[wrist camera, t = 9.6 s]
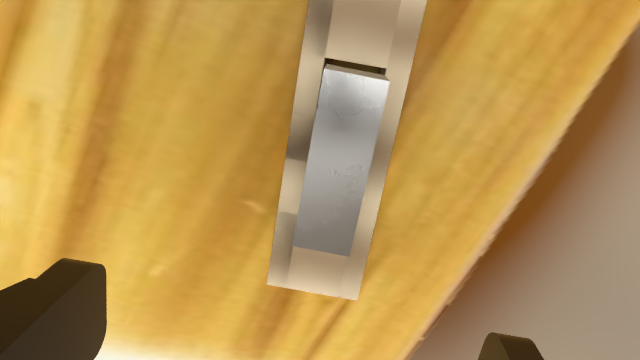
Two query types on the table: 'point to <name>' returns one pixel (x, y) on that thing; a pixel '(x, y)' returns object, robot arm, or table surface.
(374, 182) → the rail
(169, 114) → the table surface
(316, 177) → the grey notched block
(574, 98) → the table surface
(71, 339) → the robot arm
